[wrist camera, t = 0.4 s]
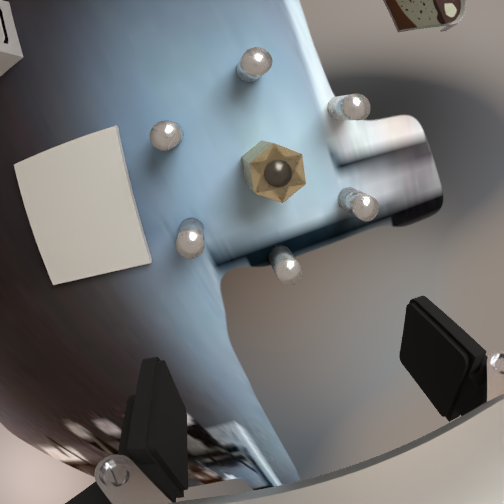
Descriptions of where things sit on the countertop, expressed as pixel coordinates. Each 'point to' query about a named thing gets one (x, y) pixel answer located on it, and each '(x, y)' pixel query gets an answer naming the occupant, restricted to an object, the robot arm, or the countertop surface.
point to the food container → (425, 13)
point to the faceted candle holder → (273, 171)
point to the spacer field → (349, 198)
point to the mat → (83, 207)
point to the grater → (9, 54)
